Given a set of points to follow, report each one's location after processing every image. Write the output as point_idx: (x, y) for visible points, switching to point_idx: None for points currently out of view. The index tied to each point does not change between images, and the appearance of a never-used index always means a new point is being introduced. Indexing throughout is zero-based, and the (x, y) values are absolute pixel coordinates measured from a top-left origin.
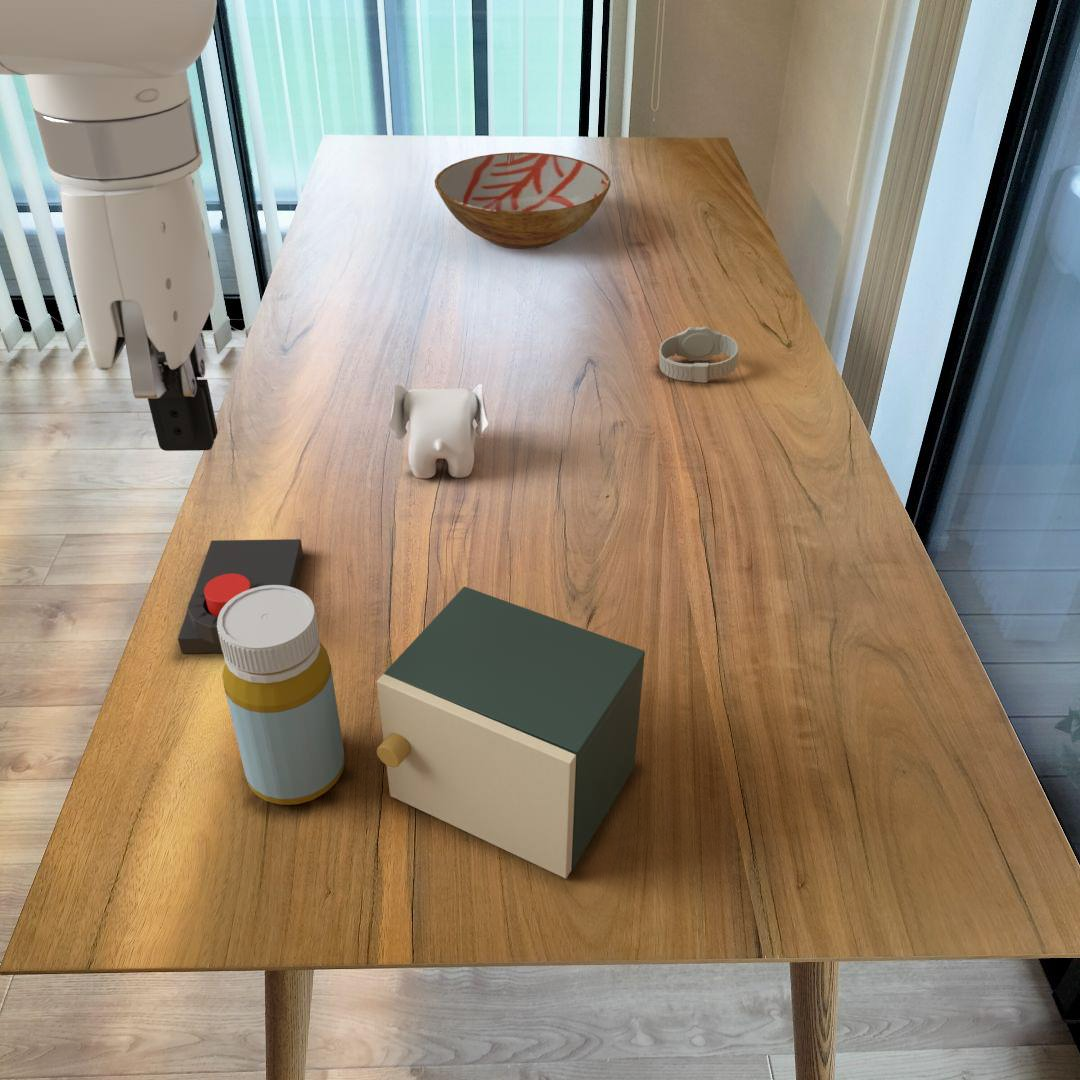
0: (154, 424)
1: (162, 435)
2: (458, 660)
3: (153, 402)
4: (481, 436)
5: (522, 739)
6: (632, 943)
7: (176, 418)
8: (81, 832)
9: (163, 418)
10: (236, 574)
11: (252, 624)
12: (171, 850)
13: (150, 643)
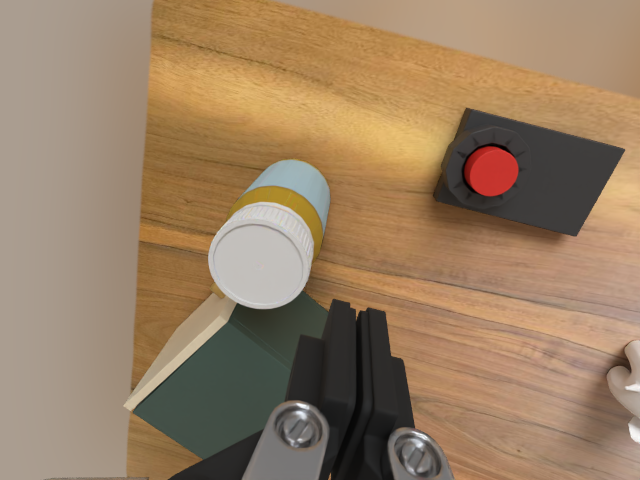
0: (330, 333)
1: (329, 324)
2: (232, 372)
3: (323, 384)
4: (633, 418)
5: (145, 388)
6: (138, 342)
7: (286, 397)
8: (270, 17)
9: (293, 374)
10: (512, 184)
11: (249, 251)
12: (238, 95)
13: (495, 75)
